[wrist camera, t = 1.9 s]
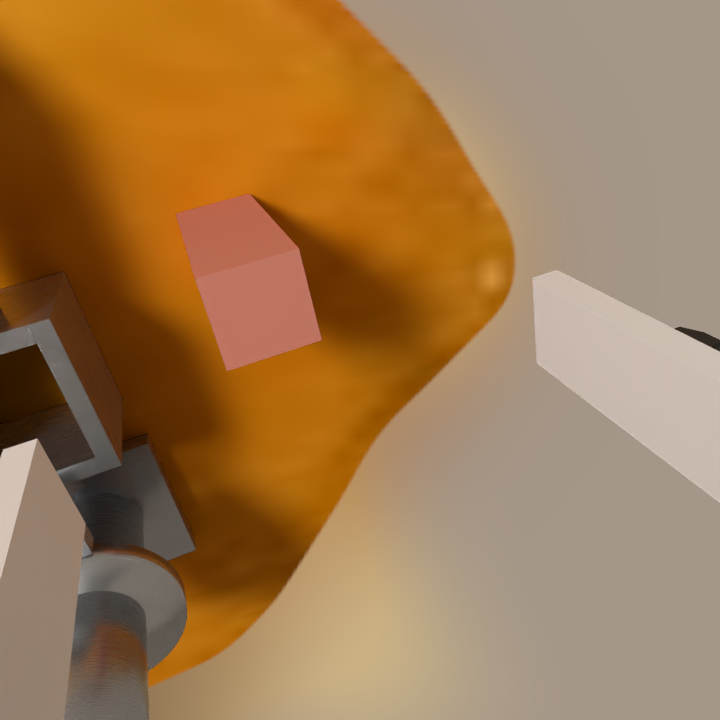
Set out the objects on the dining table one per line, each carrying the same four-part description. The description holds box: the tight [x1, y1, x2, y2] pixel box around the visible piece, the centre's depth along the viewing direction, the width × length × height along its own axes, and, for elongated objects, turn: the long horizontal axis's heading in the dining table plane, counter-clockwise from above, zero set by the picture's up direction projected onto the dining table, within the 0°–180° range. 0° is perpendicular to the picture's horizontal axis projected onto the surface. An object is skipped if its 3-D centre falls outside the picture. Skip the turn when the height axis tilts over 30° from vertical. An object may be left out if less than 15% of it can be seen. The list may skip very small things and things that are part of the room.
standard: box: [64, 434, 196, 720], centre depth 25 cm, size 8×10×20 cm
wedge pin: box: [176, 194, 322, 371], centre depth 25 cm, size 4×4×10 cm
